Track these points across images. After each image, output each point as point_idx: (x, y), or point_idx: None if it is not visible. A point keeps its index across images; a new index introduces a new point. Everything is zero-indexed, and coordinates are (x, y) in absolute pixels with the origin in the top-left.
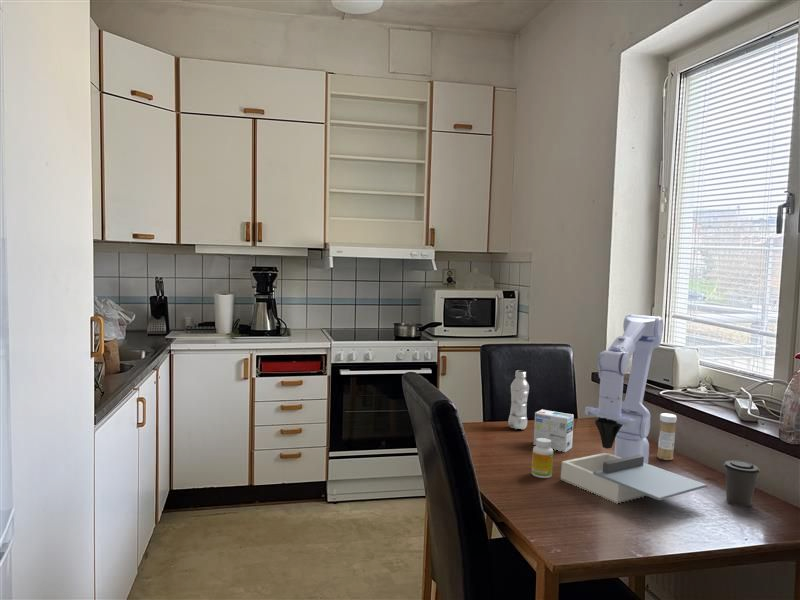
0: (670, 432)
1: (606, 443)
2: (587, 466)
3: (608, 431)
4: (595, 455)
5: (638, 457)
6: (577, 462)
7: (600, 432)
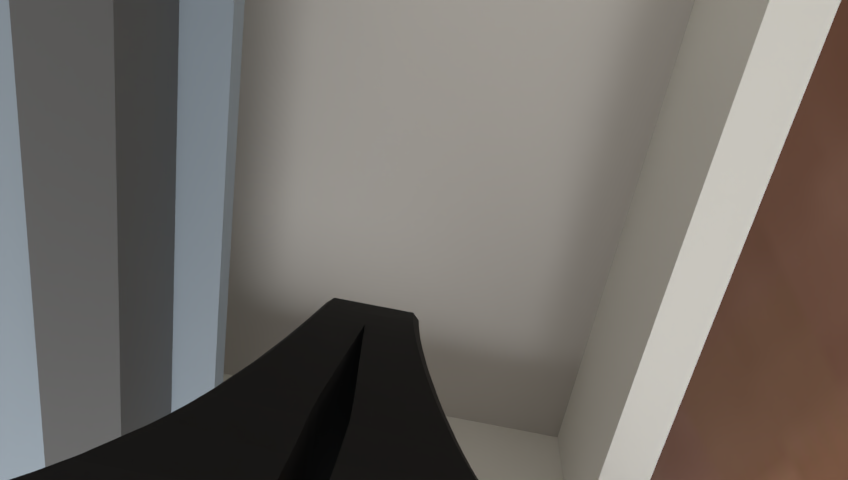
0: None
1: (303, 328)
2: (645, 237)
3: (77, 468)
4: (648, 432)
5: (49, 461)
6: (726, 84)
7: (434, 469)
